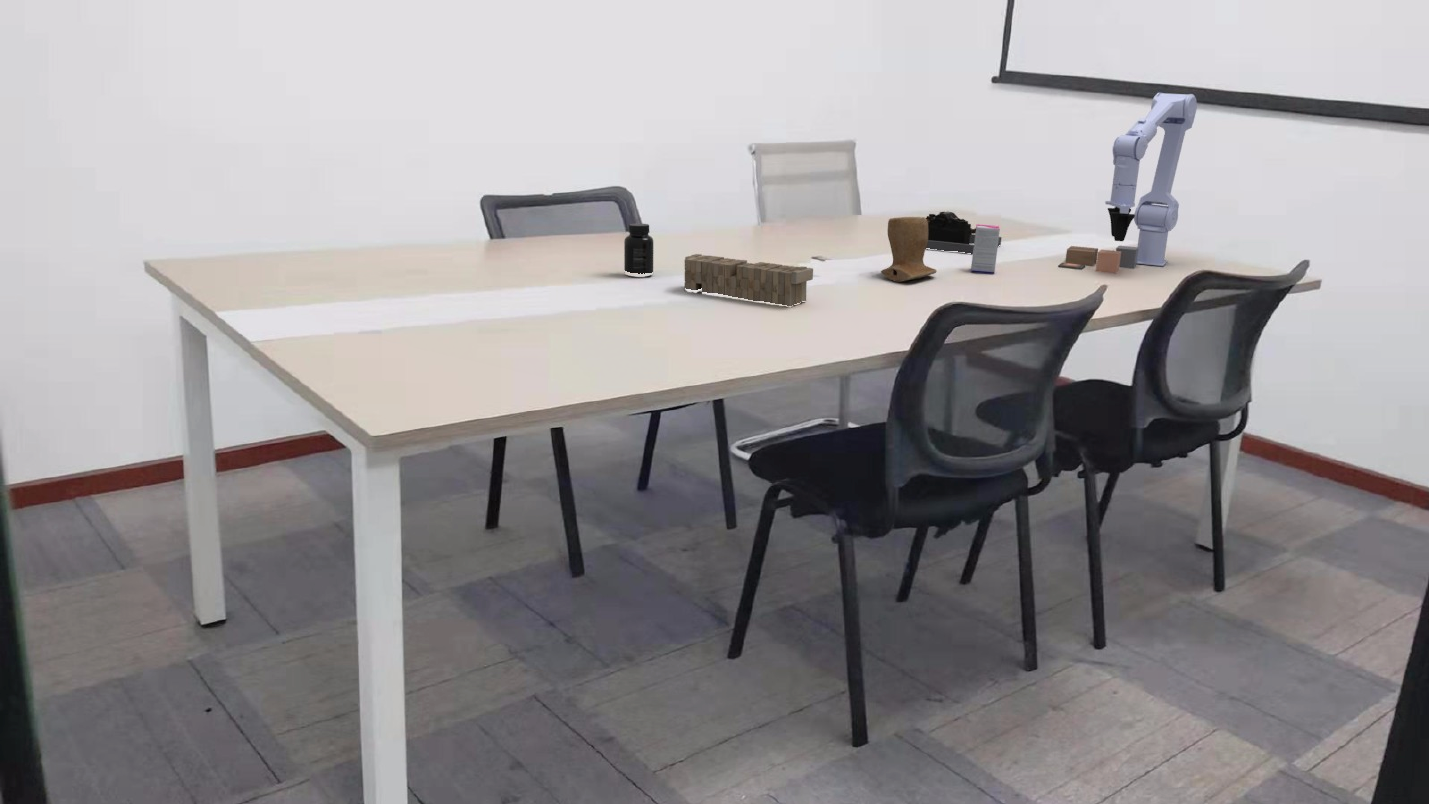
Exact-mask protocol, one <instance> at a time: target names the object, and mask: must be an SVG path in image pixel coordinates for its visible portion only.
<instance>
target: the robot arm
mask: <svg viewBox="0 0 1429 804" xmlns="http://www.w3.org/2000/svg"><path fill="white" fill-rule="evenodd" d="M1151 101H1152V102H1151V104H1150V105H1151V106H1150V107H1151V108H1150V111H1149V112H1148V114H1147V115H1146V117H1145V118H1140V119H1138V120H1137V121H1136V122H1135V123H1134V124H1133V126H1131V128H1130V129H1129V130H1128V131H1127V132H1125V133H1126V134H1121V135H1119V136H1117V137H1116V138H1115V139H1114V142H1113V146H1112V156H1113V161H1112V163H1113V165H1114V170H1113V171H1114V172H1113V179H1112V186H1111V192H1110V193H1111V194H1110V200H1105V201H1104V203H1105V205H1109V206H1111V207H1108V208H1107V211H1108V214H1109V218H1110V230H1111V231H1110V232H1111V233H1110V234H1111V237H1113V239H1114V241H1115V242H1124V241H1125V239H1126V235H1127V233H1128V230H1129V227H1130V224H1131V223H1132V221H1134V223H1135V226H1137V230H1139V232H1138V240H1137V246H1136V247H1139V250H1138V257H1137V264H1136V265H1138V264H1139V265H1148V266H1157V267H1164V266H1165V265H1166V263H1167V262H1168V259H1166V258H1165V256H1166V251H1167V250H1166V249H1167V243H1168V236H1169V232H1171V231H1172V230H1173V229H1174V228H1175V227H1176V225H1177V223H1178V219H1179V206H1180V204H1179V201H1178V200H1177V199H1176V198H1175V197H1174V196H1173V195H1172V194H1171V193H1172V190H1173V189H1172V188H1173V184H1174V181H1175V177H1176V173H1177V168H1178V163H1179V160H1180V154H1181V152H1182V146H1183V143H1184V138H1185V136H1186V132H1187V131H1188V130H1190V129H1192V128H1193V124H1194V122H1195V118H1196V113H1197V109H1198V102H1197V98H1196V96H1195V95H1194V94H1193V93H1189V94H1185V93H1183V94H1182V93H1166V92H1165V93H1163V92H1157V93H1156V94H1155V95H1154V97H1153V98H1152V100H1151ZM1158 127H1160V128H1162V129H1163V130H1164V135H1163V140H1162V144H1161V148H1160V152H1159V157H1158V159H1157V165H1156V169H1155V172H1154V178H1153V181H1152V185H1151V190H1150V191H1149V192H1148V193H1146V194H1144V195H1142V196H1141V197H1140V199H1139V200H1138V201H1139V202H1138V204H1137V206H1136V204H1135V199H1136V192H1137V185H1138V180H1139V179H1138V176H1139V171H1140V170H1139V169H1140V162H1141V160H1142V159H1143V158H1144V156H1145V155H1146V152H1147V149H1148V147H1149V143H1150V142H1151V141H1152V140H1153V139H1154V138H1155V136H1156V135H1157V133H1158V132H1157V131H1158V129H1157V128H1158ZM1135 206H1136V208H1135V211H1134V213H1131V212H1132V209H1131V208H1133V207H1135Z"/></svg>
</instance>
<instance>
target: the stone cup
mask: <svg viewBox="0 0 1429 804" xmlns="http://www.w3.org/2000/svg"><path fill="white" fill-rule="evenodd" d="M926 218H927V217H925V216H924V217H923V216H903V217H901V216H899V217H892V218H889V219H888V222H887V238H888V241H889V246H890V250H891V255H892V263H891V265H890V266H888V267H886V268H884V269H882V270H880V273H881V274H882V275H883V277H885V278H886V279H889V280H890V281H892V280H895V281H894V282H897V281H899V282H907V281H911V280H916V279H920V278H921V279H922V278H923V277H924V278H925V277H927V276H931V275H935V274H936V273H937V269H936V268H932V267H930V266H928V265H925V263H924V256H925V251H926V250H925V249H926V246H927V242H928V222H927V219H926Z"/></svg>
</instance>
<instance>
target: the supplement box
mask: <svg viewBox="0 0 1429 804" xmlns="http://www.w3.org/2000/svg"><path fill="white" fill-rule="evenodd" d="M975 226H976V227H975V228H976V233H975V241H974V244H973V245H974V249H973V255H972V257H971V266H970V271H971V273H973V274H986V275H987V274H988V275H994V274H995V272H996V263H997V254H998V249H999V247H998V240H999V237H1000V229H1001V228H1000V225H991V224H990V225H988V224H979V223H978V224H976V225H975Z"/></svg>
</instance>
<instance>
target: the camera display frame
mask: <svg viewBox="0 0 1429 804" xmlns="http://www.w3.org/2000/svg"><path fill="white" fill-rule="evenodd" d="M974 241H975V234H971V236H970V241H969V244H961V243H951V242H941V241H931V240H928V242H927V246H926V248H930V249H937V250H944V251H958V252H965V253H971V254H970V255H972V254H973V249H974V244H972V243H974ZM999 245H1001V246H1002V236H999V240H998V246H999ZM999 247H1000V246H999ZM944 251H943V252H944Z"/></svg>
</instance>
